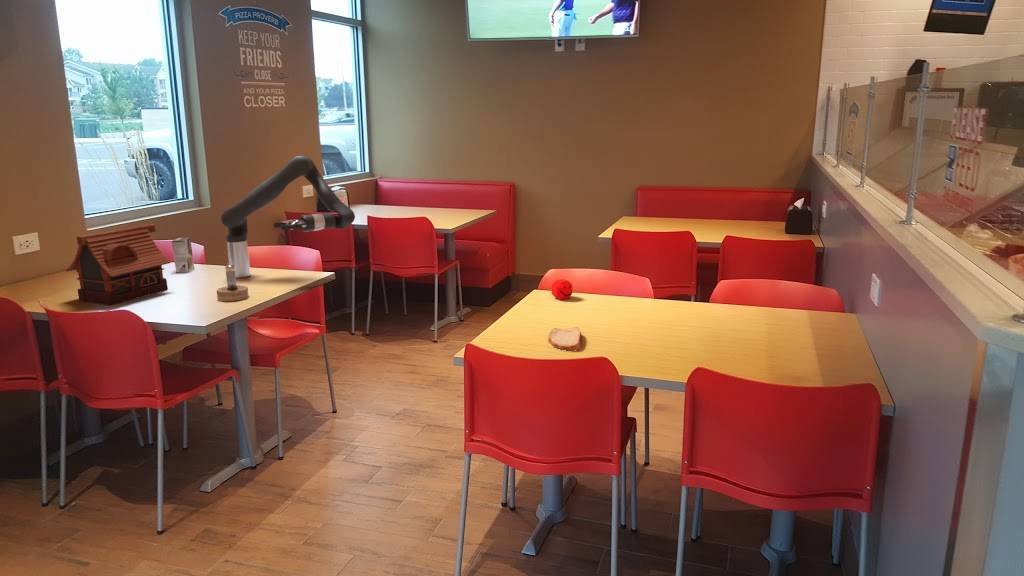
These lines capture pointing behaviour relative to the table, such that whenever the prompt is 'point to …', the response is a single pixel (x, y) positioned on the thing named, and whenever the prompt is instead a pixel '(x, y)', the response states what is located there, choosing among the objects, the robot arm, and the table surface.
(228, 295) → the bead
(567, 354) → the table surface
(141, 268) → the house
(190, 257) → the coffee box
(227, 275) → the grey tall cylinder
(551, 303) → the table surface
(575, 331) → the bread slice
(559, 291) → the ball
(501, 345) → the table surface
